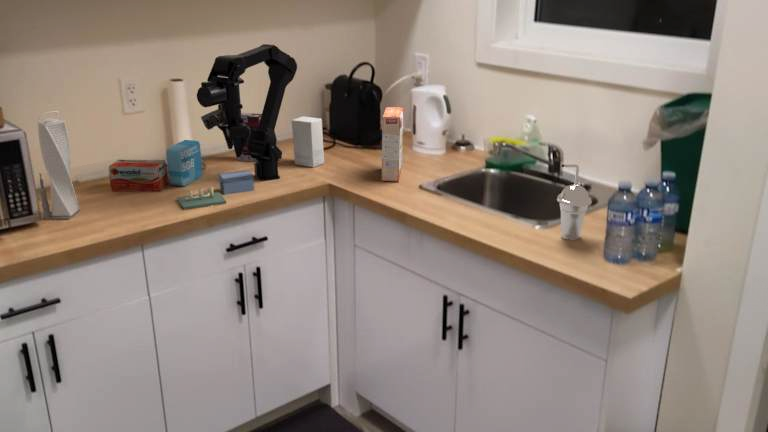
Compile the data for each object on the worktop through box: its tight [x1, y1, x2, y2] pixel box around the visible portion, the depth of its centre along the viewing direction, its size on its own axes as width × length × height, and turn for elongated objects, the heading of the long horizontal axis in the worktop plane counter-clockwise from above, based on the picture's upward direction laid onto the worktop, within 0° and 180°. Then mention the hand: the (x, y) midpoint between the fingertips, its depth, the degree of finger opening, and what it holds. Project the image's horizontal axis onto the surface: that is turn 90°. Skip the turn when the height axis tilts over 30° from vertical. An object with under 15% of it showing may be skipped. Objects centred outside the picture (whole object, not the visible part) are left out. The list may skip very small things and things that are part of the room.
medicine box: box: [108, 159, 169, 193], centre depth 214 cm, size 15×8×8 cm, turn 90°
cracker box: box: [381, 106, 404, 182], centre depth 224 cm, size 14×6×21 cm, turn 175°
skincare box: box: [291, 115, 325, 168], centre depth 236 cm, size 8×7×16 cm
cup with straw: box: [556, 163, 592, 241], centre depth 178 cm, size 8×9×20 cm
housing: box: [218, 169, 255, 195], centre depth 213 cm, size 9×5×5 cm, turn 116°
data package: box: [166, 139, 203, 187], centre depth 219 cm, size 12×4×12 cm, turn 163°
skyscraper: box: [36, 110, 81, 221], centre depth 189 cm, size 8×8×28 cm
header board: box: [176, 186, 227, 211], centre depth 203 cm, size 12×9×4 cm
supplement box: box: [237, 112, 262, 163], centre depth 241 cm, size 9×5×16 cm, turn 80°
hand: (234, 152), depth 210 cm, fingers open, 9 cm apart
